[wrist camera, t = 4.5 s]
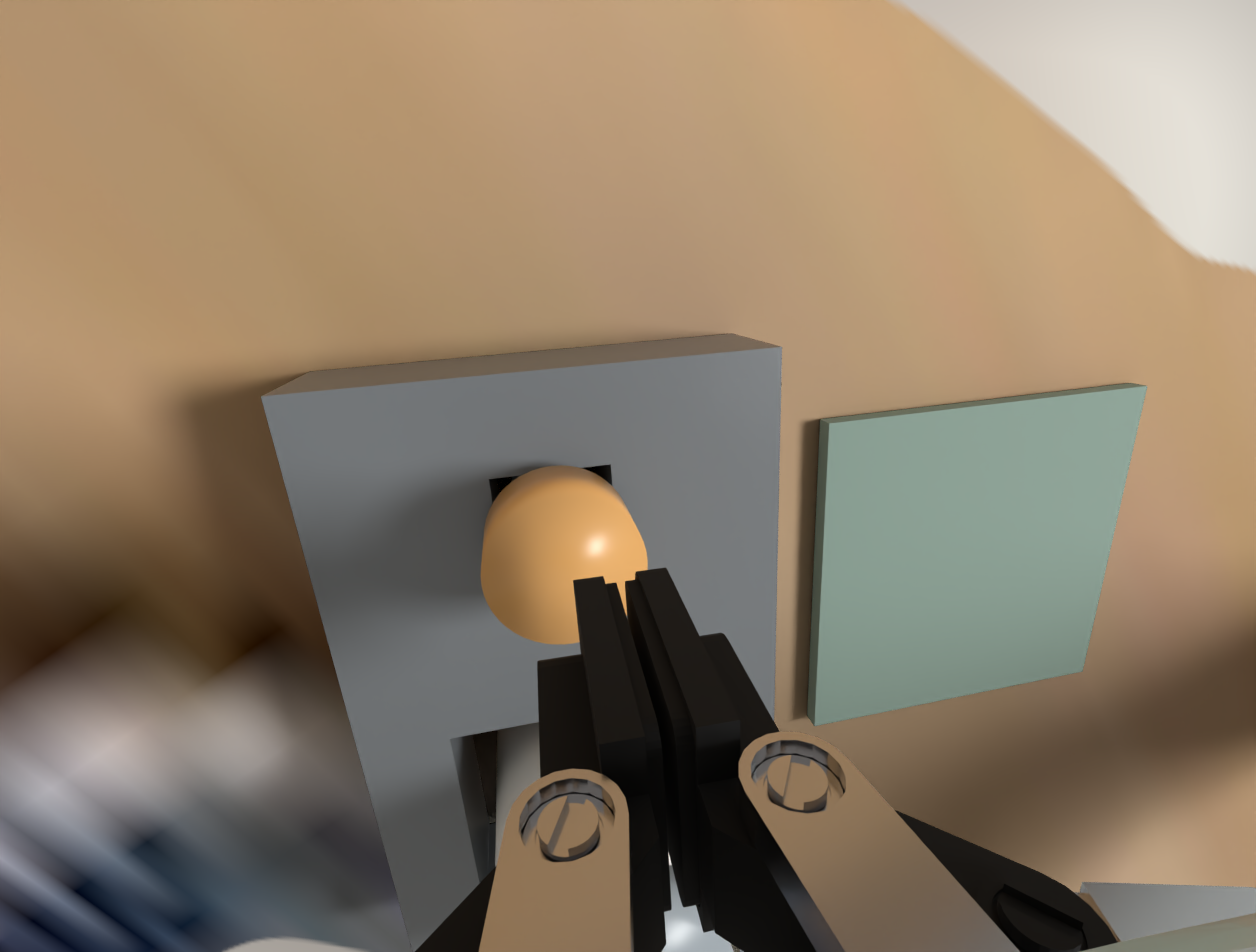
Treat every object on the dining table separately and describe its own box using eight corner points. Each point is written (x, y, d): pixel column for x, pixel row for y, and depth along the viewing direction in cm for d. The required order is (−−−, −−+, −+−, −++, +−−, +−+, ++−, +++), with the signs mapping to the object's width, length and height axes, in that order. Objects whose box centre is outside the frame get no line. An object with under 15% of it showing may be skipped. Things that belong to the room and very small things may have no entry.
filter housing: (732, 333, 18) (782, 346, 15) (735, 808, 24) (770, 890, 21) (309, 371, 16) (260, 396, 13) (431, 875, 23) (419, 977, 19)
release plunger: (603, 422, 18) (643, 484, 13) (612, 533, 19) (651, 629, 14) (479, 436, 17) (468, 506, 12) (496, 549, 18) (493, 656, 13)
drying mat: (1130, 382, 21) (1147, 386, 21) (1069, 662, 25) (1082, 671, 25) (820, 419, 20) (829, 423, 19) (807, 715, 24) (814, 726, 23)
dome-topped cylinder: (647, 649, 21) (740, 895, 13) (655, 772, 23) (741, 1056, 15) (486, 677, 20) (474, 961, 12) (508, 802, 22) (510, 1124, 14)
